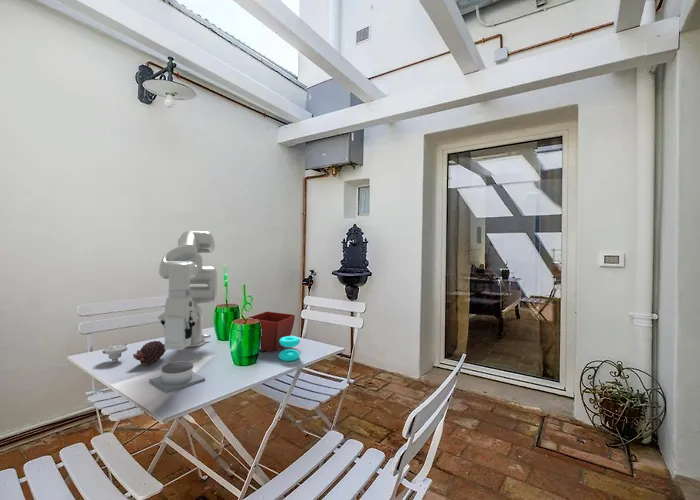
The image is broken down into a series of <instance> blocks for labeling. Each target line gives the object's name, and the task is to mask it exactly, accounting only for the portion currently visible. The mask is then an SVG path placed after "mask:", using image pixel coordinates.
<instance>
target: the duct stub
mask: <svg viewBox="0 0 700 500" xmlns="http://www.w3.org/2000/svg"><path fill="white" fill-rule="evenodd" d="M193 367H194V363H193V362H191V361H187V360H184V361H183V360H180V361H173V362H169V363H166V364H164V365H163V366H162V367H161V375H159V376H156V377H152V378H149V379H148V381H149V383H151V384H152V385H154V386H155V387H157V388H159V389H160V390H162V391H163V392H164V393H167V394H169V393H171V392H174V391H176V390H180V389H183V388H186V387H188V386H192V385H195V384H199V383H201V382H204V381H206V377H204V376H202V375H200V374H198V373H196V372H195V371H194V369H193Z"/></svg>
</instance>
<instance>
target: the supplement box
mask: <svg viewBox="0 0 700 500" xmlns="http://www.w3.org/2000/svg"><path fill="white" fill-rule="evenodd" d="M189 318H190V317H189ZM190 319H191V318H190ZM186 329H187V327H186V322H185V318H184V317H166V318H165V328H164V344H165V348H164V349H166V350H171V351H172V350H173V351H174V350H176V351H182V350H184V349H185V348H188V347H187V346H189V345H190V344H191V337H190V338H188V339H186V338H185V332H186Z"/></svg>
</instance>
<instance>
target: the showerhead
mask: <svg viewBox="0 0 700 500" xmlns="http://www.w3.org/2000/svg"><path fill="white" fill-rule="evenodd" d="M126 351H128V342H127V343H124V344H115V345H114V344H113V345H107V346H105V347H104V348H103V349H102V351H101V352H102V353H103V354H104V355H108V359H109V360H111V363H117V362H118V360H119V358H121V357H122V353H125V352H126Z"/></svg>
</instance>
